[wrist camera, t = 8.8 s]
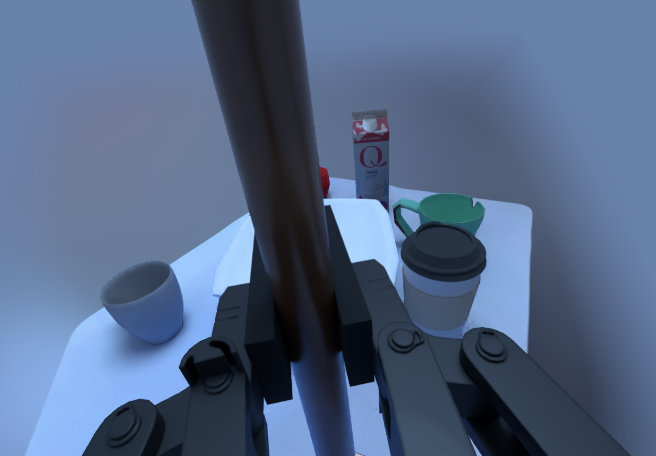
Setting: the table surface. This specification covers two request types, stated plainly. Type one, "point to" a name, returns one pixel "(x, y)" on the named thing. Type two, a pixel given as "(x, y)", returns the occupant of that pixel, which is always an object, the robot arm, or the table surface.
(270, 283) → the spatula
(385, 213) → the bowl
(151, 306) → the mug
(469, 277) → the coffee cup
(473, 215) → the mug
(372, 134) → the milk carton
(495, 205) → the table surface
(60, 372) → the table surface
